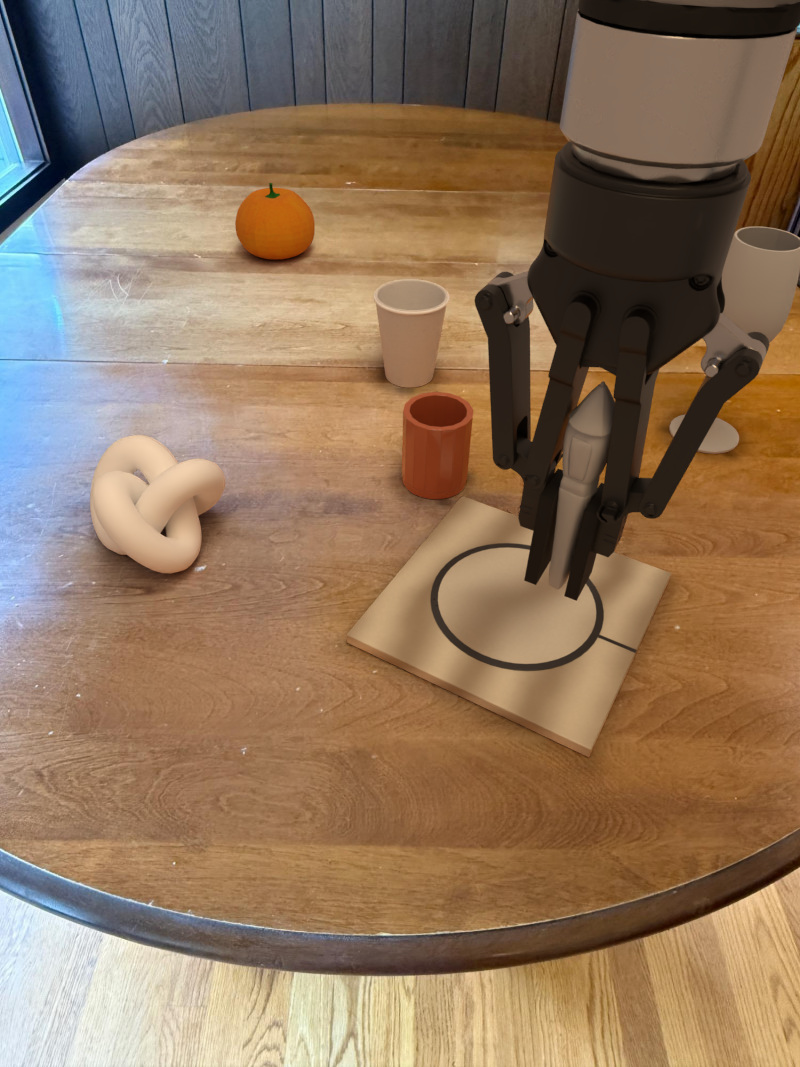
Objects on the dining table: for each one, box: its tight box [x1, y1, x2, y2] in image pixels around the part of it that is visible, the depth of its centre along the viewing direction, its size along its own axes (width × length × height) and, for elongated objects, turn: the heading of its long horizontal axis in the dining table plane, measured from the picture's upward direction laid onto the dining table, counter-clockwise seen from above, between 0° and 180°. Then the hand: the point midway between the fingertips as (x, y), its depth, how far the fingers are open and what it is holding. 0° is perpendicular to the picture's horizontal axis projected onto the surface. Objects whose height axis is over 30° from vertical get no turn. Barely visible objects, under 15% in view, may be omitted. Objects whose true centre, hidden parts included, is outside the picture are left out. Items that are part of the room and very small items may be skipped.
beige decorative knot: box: [89, 434, 227, 574], centre depth 66 cm, size 11×12×9 cm
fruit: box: [234, 182, 316, 261], centre depth 114 cm, size 12×12×10 cm
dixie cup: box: [372, 278, 451, 388], centre depth 88 cm, size 8×8×10 cm
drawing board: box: [346, 495, 672, 758], centre depth 63 cm, size 20×20×1 cm
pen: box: [549, 381, 615, 589], centre depth 42 cm, size 2×3×14 cm
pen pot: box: [401, 391, 474, 500], centre depth 74 cm, size 6×6×8 cm
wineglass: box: [668, 226, 800, 455], centre depth 76 cm, size 8×8×21 cm
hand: (558, 575), depth 46 cm, fingers closed on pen, 2 cm apart
